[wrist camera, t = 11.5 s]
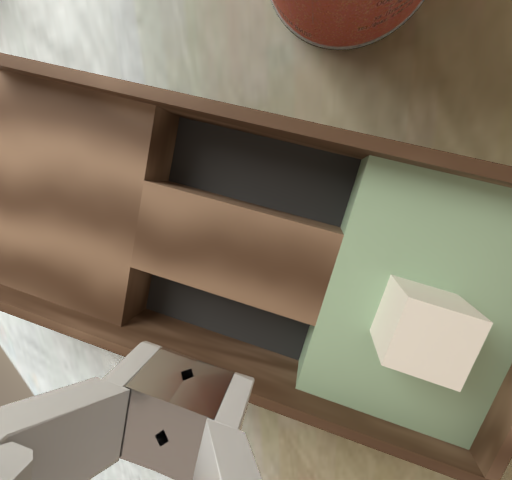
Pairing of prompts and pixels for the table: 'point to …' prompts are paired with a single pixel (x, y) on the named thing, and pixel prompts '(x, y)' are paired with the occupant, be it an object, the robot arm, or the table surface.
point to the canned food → (344, 20)
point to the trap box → (256, 252)
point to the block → (428, 332)
